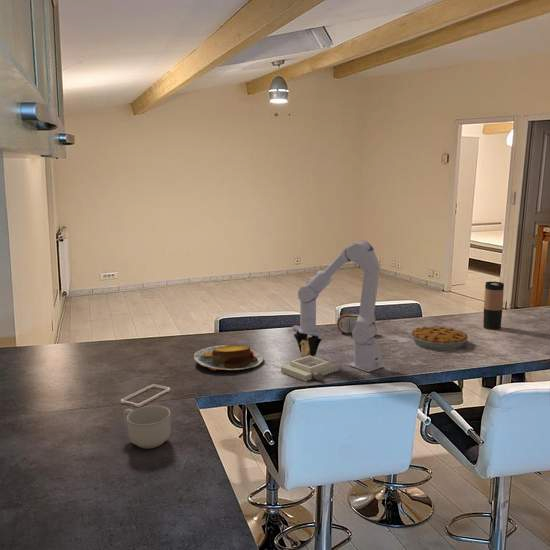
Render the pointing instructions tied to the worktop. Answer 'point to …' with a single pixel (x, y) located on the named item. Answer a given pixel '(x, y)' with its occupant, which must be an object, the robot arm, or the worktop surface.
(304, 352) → the spout can
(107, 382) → the worktop surface
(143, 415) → the teacup
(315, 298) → the robot arm
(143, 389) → the phone case
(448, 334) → the pie
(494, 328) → the travel mug
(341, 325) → the tin
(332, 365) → the cream peg hole base
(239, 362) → the food on plate
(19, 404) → the worktop surface
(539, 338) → the worktop surface
